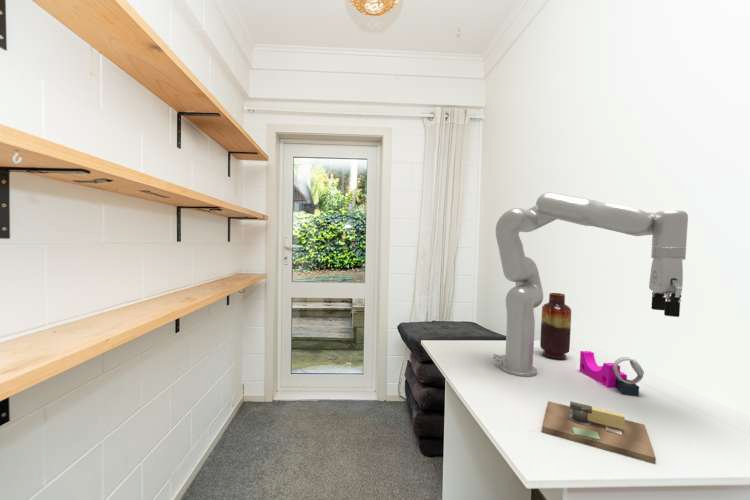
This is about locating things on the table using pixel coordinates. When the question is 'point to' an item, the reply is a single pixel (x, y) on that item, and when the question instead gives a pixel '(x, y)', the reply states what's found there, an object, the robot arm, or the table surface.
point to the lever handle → (596, 415)
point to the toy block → (599, 370)
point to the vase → (555, 327)
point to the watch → (628, 385)
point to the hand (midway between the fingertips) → (664, 312)
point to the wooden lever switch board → (599, 433)
